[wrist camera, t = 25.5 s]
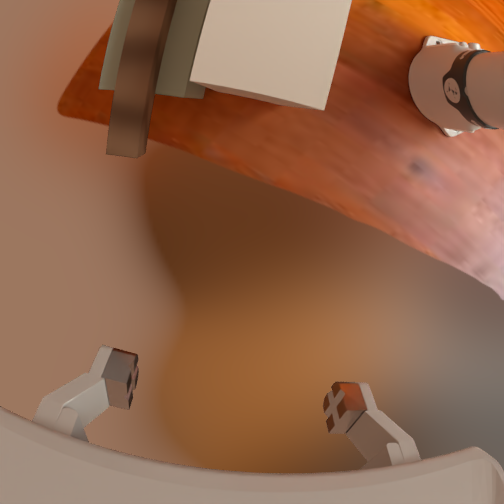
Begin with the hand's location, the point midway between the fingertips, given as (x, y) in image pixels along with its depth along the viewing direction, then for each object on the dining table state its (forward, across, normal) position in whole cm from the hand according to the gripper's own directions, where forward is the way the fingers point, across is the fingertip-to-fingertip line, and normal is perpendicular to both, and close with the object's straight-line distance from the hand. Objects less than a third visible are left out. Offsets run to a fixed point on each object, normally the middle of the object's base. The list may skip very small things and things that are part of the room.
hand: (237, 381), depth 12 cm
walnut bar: (+25, -13, +13) cm, 31 cm away
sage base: (+41, -13, +16) cm, 46 cm away
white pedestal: (+41, -1, +18) cm, 45 cm away
